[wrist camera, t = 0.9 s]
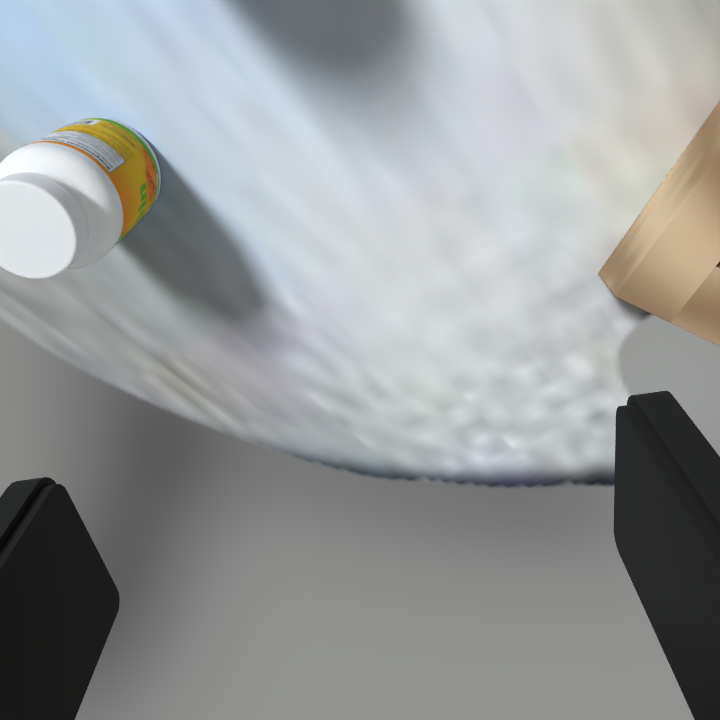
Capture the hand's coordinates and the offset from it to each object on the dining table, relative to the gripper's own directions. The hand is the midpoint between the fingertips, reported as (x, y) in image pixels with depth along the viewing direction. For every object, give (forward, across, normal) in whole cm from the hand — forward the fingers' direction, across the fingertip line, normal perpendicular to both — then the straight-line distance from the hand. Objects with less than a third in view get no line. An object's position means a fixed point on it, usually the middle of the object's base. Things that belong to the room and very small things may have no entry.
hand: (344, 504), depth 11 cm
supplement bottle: (+26, +13, -2) cm, 29 cm away
